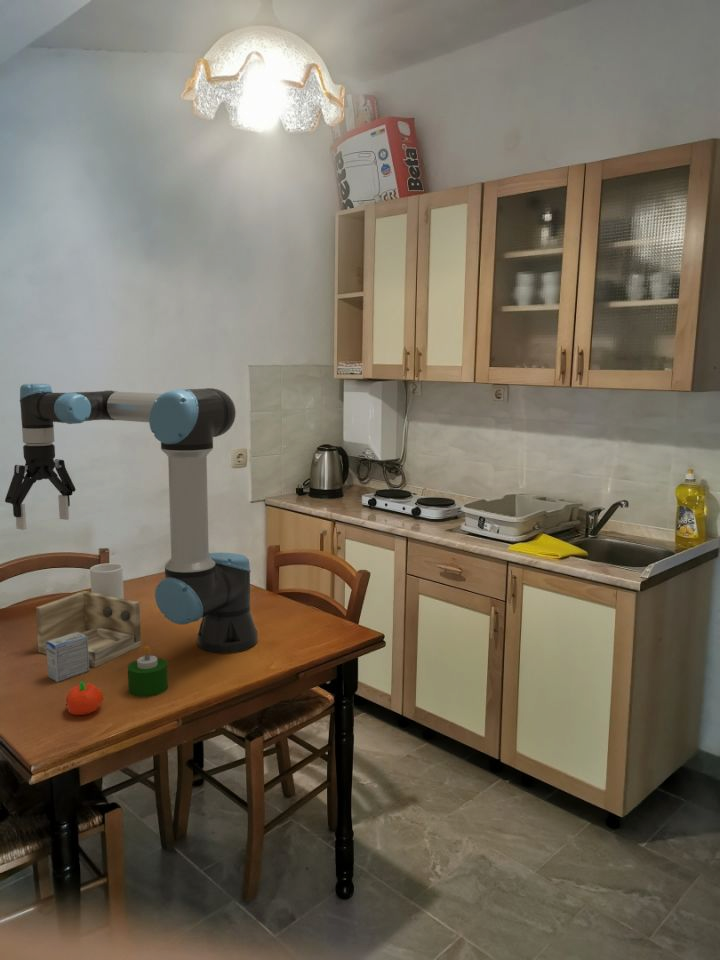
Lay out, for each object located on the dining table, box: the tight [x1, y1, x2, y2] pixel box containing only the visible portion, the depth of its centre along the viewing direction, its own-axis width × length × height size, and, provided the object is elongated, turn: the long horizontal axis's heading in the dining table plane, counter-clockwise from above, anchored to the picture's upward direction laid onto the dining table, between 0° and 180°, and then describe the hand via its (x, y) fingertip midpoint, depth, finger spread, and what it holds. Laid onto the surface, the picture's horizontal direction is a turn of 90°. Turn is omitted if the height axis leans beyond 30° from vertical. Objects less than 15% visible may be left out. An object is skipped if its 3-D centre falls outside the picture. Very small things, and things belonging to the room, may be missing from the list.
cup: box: [89, 562, 125, 599], centre depth 200 cm, size 8×8×16 cm
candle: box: [127, 645, 169, 698], centre depth 162 cm, size 8×8×10 cm
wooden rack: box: [35, 590, 142, 668], centre depth 183 cm, size 19×15×12 cm
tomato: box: [65, 680, 104, 716], centre depth 151 cm, size 7×8×6 cm
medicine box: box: [46, 632, 90, 683], centre depth 169 cm, size 8×4×9 cm, turn 141°
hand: (43, 524), depth 195 cm, fingers open, 13 cm apart
